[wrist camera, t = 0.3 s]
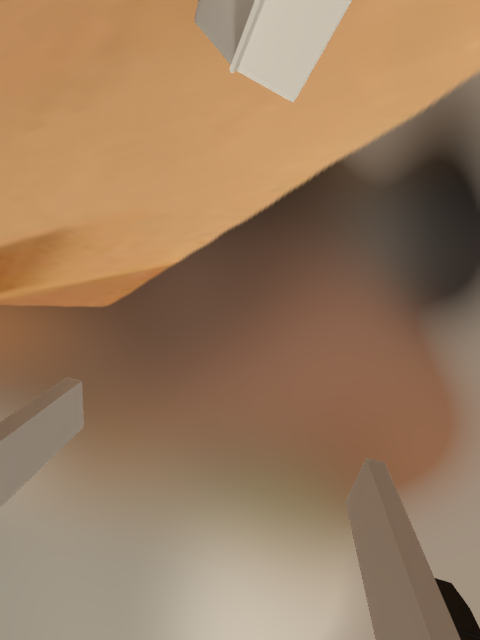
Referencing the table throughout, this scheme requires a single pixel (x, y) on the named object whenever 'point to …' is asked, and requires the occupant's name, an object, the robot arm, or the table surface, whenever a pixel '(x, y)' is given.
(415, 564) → the robot arm
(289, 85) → the milk carton
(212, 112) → the table surface
